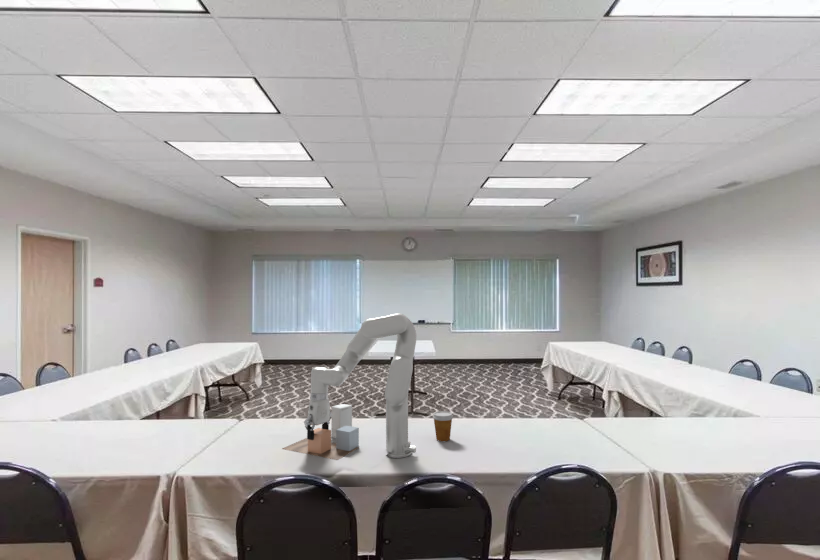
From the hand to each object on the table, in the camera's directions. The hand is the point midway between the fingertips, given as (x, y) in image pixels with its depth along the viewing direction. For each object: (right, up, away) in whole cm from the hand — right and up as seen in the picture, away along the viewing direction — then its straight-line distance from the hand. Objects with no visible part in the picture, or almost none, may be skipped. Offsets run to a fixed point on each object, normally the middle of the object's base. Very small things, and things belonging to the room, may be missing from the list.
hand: (317, 436), depth 180 cm
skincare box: (+7, -9, +19) cm, 22 cm away
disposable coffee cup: (+55, -8, +17) cm, 58 cm away
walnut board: (+1, -7, +2) cm, 8 cm away
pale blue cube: (+12, -6, +3) cm, 14 cm away
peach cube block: (+1, -6, 0) cm, 6 cm away
